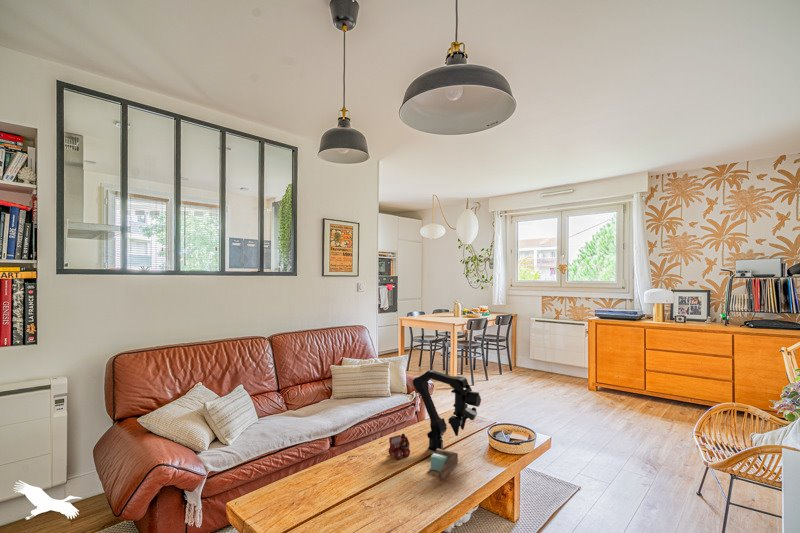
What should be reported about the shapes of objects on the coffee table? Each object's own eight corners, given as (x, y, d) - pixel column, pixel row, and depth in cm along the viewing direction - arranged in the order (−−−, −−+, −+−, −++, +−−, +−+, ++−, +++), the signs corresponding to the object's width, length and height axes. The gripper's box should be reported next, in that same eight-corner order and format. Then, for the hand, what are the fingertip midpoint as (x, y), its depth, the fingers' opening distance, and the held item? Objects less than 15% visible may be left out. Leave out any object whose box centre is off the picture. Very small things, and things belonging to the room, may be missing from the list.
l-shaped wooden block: (421, 475, 178) (421, 464, 178) (437, 458, 195) (437, 448, 195) (443, 481, 173) (443, 470, 173) (457, 463, 190) (457, 453, 190)
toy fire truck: (412, 454, 198) (413, 434, 198) (393, 461, 191) (394, 440, 191) (404, 449, 204) (405, 430, 204) (385, 455, 196) (386, 435, 196)
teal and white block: (447, 469, 184) (447, 456, 184) (444, 472, 180) (444, 459, 180) (433, 465, 187) (434, 452, 187) (430, 468, 184) (430, 455, 184)
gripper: (469, 410, 186) (469, 443, 186) (480, 400, 203) (479, 429, 203) (448, 406, 192) (447, 438, 191) (460, 396, 208) (459, 425, 208)
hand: (459, 432), depth 198 cm, fingers open, 9 cm apart
